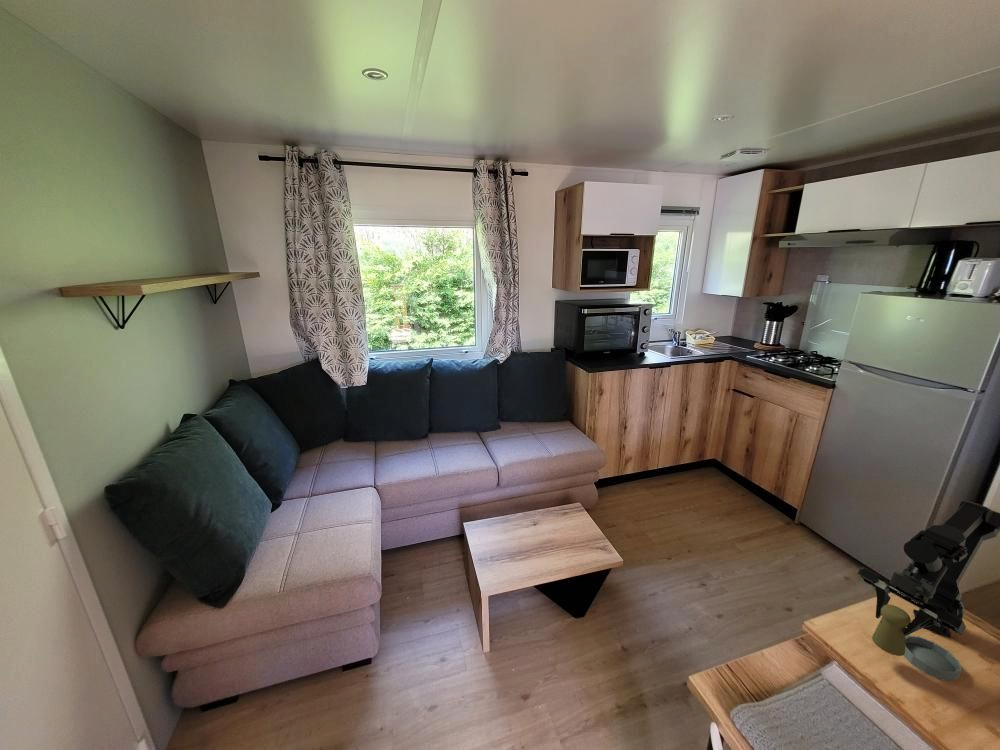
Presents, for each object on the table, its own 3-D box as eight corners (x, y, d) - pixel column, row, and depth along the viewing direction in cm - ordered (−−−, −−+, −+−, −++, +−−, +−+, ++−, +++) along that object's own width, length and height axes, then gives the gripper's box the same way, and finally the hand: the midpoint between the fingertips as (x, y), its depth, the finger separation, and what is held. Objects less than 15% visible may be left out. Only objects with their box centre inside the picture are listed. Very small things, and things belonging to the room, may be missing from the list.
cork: (912, 657, 93) (921, 622, 90) (883, 654, 94) (892, 618, 92) (892, 635, 99) (901, 601, 96) (865, 632, 100) (873, 598, 97)
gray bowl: (897, 636, 104) (899, 629, 104) (952, 657, 98) (954, 649, 97) (904, 664, 97) (906, 656, 96) (963, 689, 90) (966, 681, 90)
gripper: (867, 541, 101) (836, 588, 99) (972, 591, 84) (937, 649, 83) (877, 556, 105) (848, 602, 104) (979, 606, 89) (946, 662, 87)
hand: (890, 626), depth 94 cm, fingers closed on cork, 5 cm apart
